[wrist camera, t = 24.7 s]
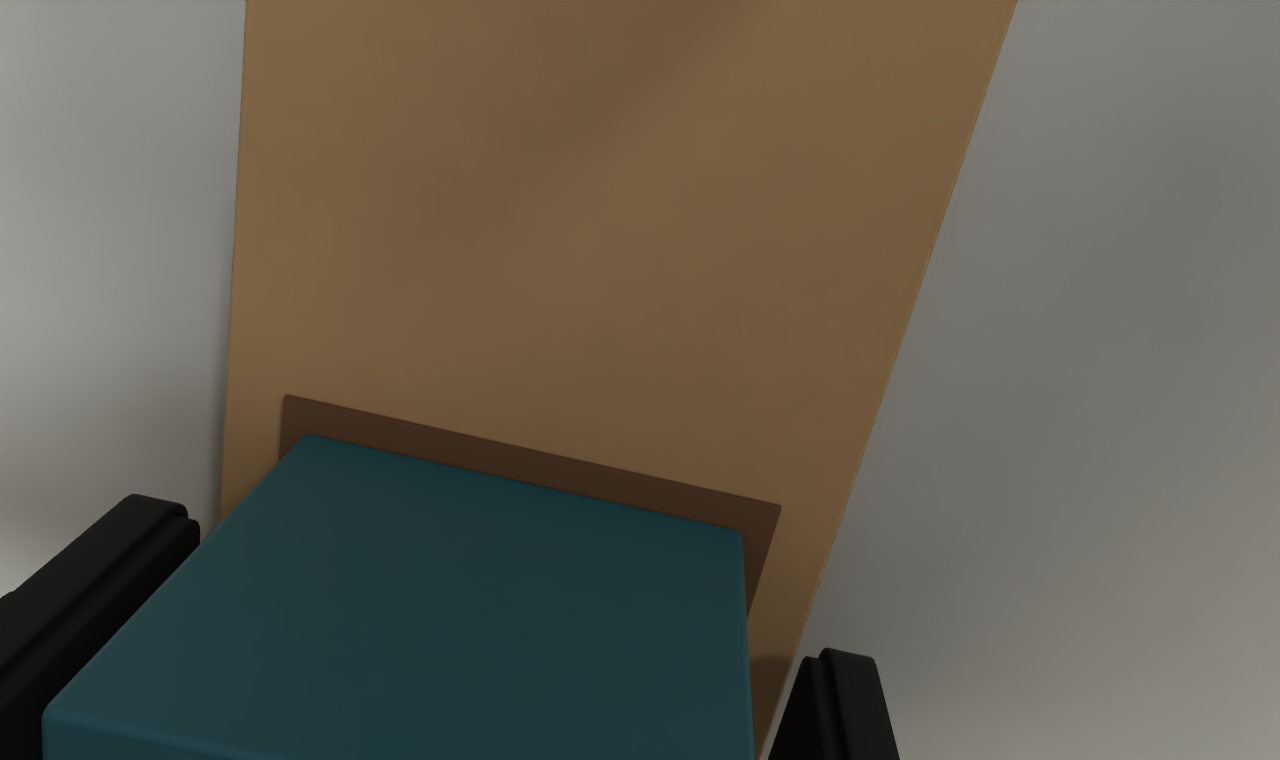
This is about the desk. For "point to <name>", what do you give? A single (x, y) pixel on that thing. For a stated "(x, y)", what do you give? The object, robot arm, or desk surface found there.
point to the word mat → (599, 249)
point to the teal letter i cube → (425, 628)
